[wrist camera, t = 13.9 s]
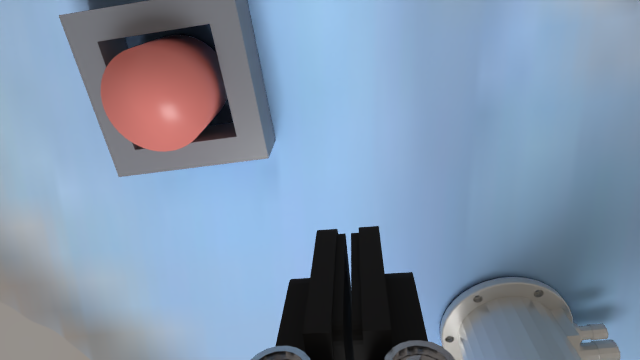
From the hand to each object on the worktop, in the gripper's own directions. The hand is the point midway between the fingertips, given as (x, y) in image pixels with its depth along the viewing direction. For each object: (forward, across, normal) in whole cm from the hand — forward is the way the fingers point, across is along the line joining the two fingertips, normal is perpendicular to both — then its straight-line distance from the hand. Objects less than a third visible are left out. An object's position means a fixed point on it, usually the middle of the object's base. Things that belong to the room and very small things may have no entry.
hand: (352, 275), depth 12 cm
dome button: (+24, +13, -2) cm, 27 cm away
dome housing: (+24, +13, -2) cm, 28 cm away
